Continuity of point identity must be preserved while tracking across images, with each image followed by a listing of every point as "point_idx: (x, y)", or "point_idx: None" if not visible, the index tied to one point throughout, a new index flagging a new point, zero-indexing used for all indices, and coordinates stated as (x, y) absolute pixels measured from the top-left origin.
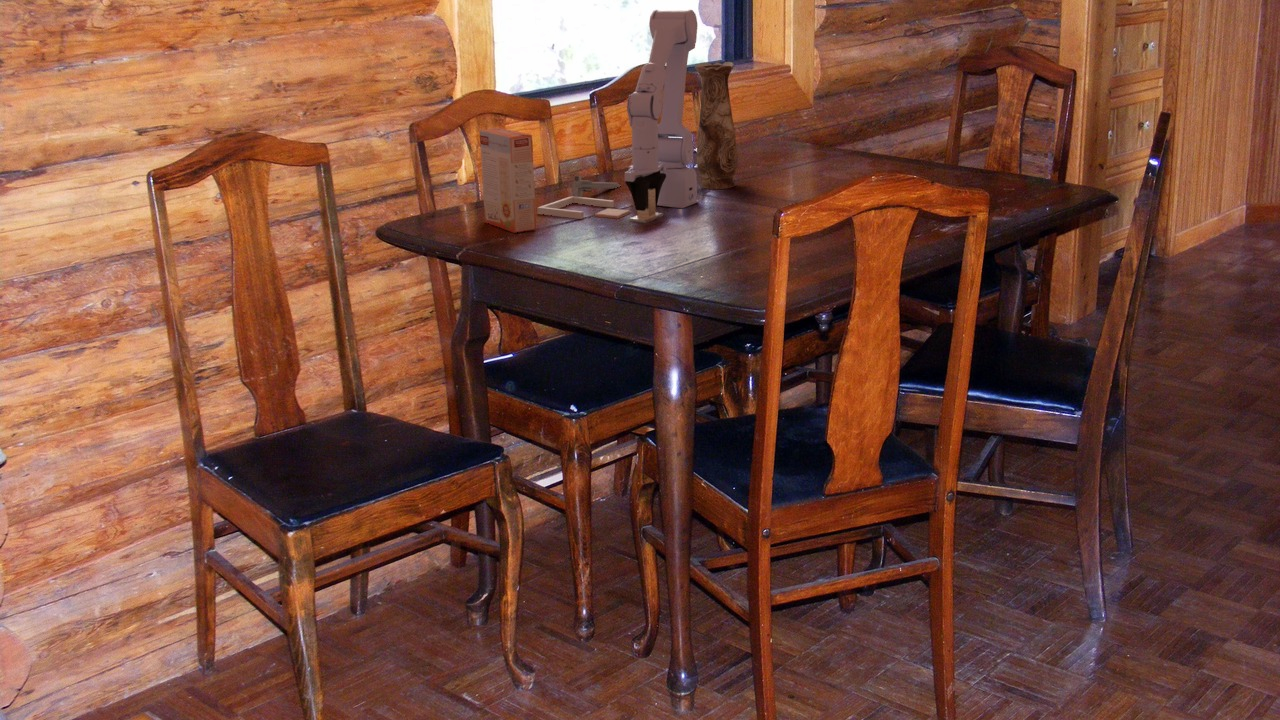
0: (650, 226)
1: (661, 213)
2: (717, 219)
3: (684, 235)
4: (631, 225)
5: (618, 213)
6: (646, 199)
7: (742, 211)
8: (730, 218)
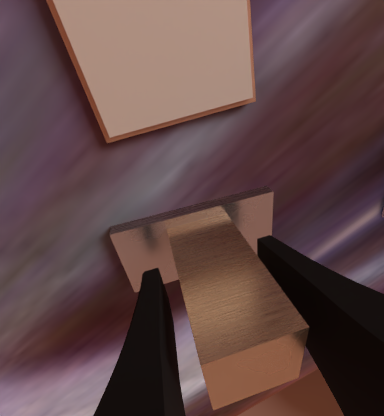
0: (111, 322)
1: None
2: None
3: None
4: (63, 281)
5: (153, 99)
6: (177, 361)
7: None
8: None
